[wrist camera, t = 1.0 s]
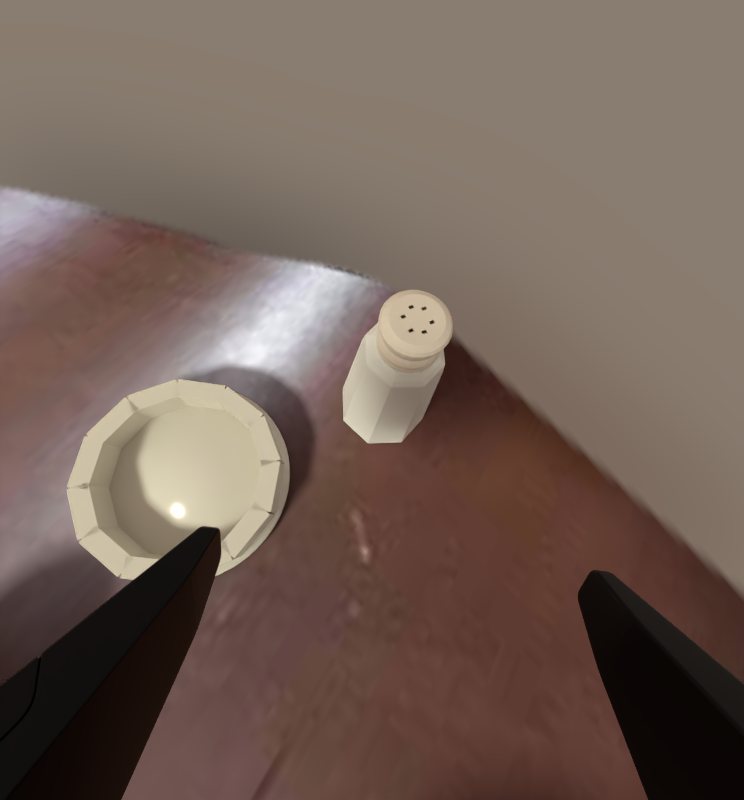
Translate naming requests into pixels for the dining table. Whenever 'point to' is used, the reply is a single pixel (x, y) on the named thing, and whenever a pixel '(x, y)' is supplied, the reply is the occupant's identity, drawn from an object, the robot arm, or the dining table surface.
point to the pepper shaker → (397, 367)
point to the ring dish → (178, 476)
